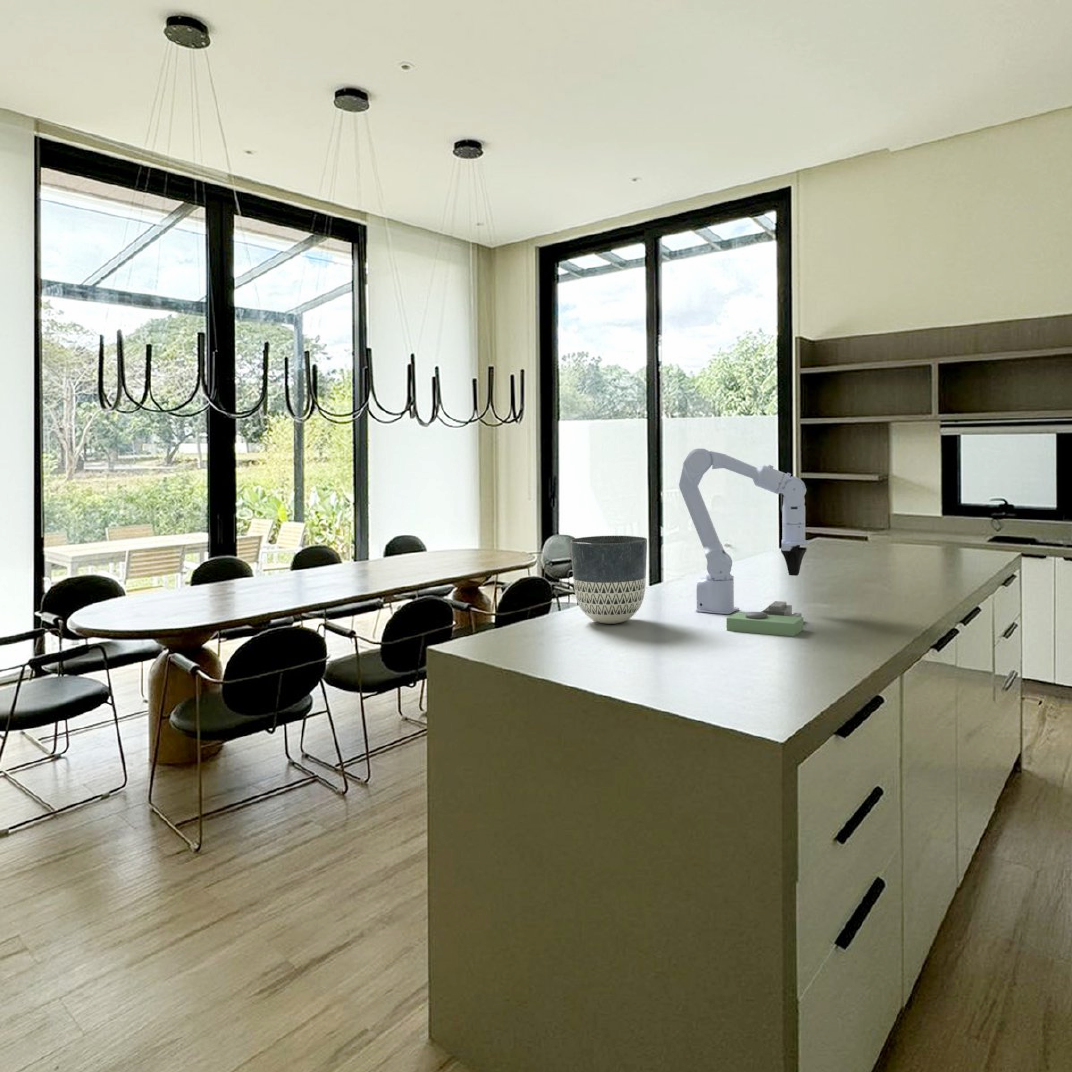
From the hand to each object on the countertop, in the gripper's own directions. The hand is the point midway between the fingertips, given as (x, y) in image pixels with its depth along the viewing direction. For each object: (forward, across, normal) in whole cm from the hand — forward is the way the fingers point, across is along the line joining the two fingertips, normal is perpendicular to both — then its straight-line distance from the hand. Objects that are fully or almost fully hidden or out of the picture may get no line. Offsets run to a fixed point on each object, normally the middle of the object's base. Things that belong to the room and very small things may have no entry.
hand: (793, 575), depth 217 cm
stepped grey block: (+10, -14, 0) cm, 18 cm away
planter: (+10, -31, +38) cm, 50 cm away
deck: (+10, -19, 0) cm, 21 cm away
